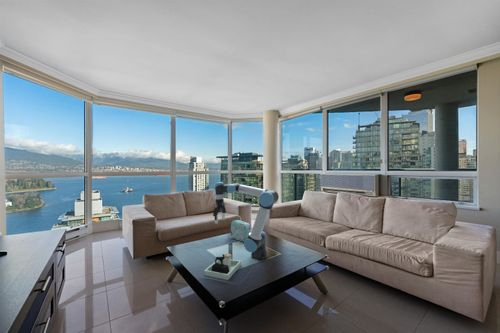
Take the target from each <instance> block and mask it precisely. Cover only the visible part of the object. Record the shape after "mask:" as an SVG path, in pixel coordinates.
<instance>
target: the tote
mask: <svg viewBox="0 0 500 333" xmlns="http://www.w3.org/2000/svg"><path fill="white" fill-rule="evenodd" d="M216 263H220V264H221V261H220V260H217V261H216ZM214 264H215V261H214V262H213V263H212V264H210V265H209V266H208V267H207V268H205V269H204V271H203V272H204V273H203V274H204V277H206V278H208V277H209V278H211V279H214V280H215V279H216V280H217V279H218V280H219V281H222V280H223V281H224V282H227V281H229V280H230V278H232V276H233V275H234V274H235V273H236V272H237V271H238V270H239V269H240V267H241V266H242V260H237V259H232V258H231V267H229V271H230V272H229V273H228V274H224V273H218V272H213V271H211V269H212V265H214ZM223 264H224V259H223Z"/></svg>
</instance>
